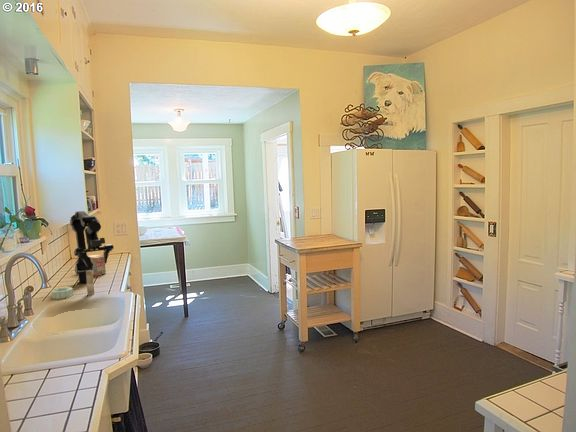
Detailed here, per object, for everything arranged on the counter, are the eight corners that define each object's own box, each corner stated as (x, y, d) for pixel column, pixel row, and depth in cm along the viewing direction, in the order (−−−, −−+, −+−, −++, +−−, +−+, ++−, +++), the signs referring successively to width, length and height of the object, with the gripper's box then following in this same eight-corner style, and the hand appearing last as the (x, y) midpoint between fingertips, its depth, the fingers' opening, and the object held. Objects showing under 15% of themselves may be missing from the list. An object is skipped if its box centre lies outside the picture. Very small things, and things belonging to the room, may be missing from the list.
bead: (58, 294, 205) (57, 287, 204) (76, 293, 205) (75, 286, 205) (48, 299, 195) (47, 292, 195) (67, 298, 196) (66, 291, 196)
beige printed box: (78, 273, 257) (76, 255, 256) (87, 271, 262) (85, 253, 262) (97, 276, 246) (95, 257, 245) (106, 274, 252) (104, 255, 251)
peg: (89, 293, 204) (87, 270, 203) (95, 293, 204) (93, 270, 203) (86, 295, 201) (84, 271, 200) (92, 294, 201) (91, 271, 200)
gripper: (75, 234, 197) (80, 263, 194) (113, 231, 209) (118, 258, 206) (71, 241, 205) (76, 269, 202) (108, 237, 217) (113, 263, 214)
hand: (96, 264), depth 206 cm, fingers open, 9 cm apart
